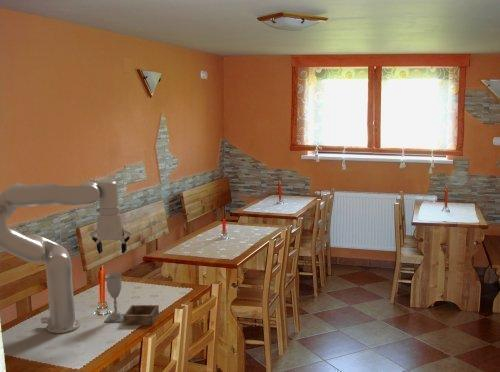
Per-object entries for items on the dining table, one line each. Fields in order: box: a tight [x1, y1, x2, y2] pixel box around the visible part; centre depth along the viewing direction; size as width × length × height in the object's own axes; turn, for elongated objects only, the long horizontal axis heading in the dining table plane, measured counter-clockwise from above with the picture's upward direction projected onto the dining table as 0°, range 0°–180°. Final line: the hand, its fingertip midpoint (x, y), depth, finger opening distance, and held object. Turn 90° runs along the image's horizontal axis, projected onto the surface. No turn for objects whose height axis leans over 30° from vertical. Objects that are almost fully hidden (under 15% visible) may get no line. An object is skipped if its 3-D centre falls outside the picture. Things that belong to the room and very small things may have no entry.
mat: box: [103, 313, 125, 323], centre depth 235 cm, size 8×8×1 cm
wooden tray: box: [123, 304, 160, 326], centre depth 233 cm, size 12×12×4 cm
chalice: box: [104, 272, 123, 320], centre depth 233 cm, size 7×7×18 cm
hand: (112, 252), depth 230 cm, fingers open, 9 cm apart
